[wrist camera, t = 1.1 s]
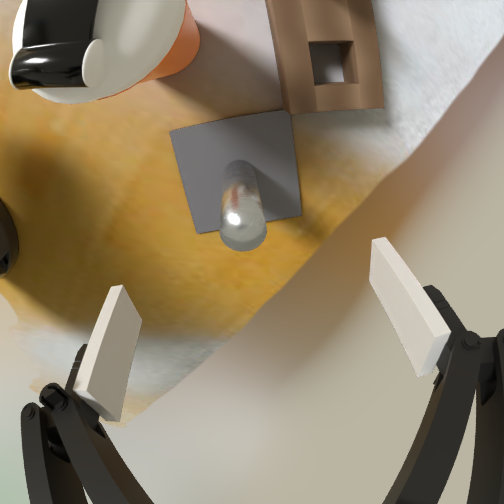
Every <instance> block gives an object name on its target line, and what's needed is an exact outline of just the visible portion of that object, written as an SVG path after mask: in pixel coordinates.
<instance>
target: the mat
mask: <svg viewBox="0 0 504 504" xmlns="http://www.w3.org/2000/svg"><path fill="white" fill-rule="evenodd" d="M170 136H171V140H172V144H173V148H174V152H175V156H176V160H177V164H178V168H179V171H180V175H181V179H182V183H183V186H184V190H185V194H186V197H187V201H188V204H189V208H190V211H191V215H192V219H193V222H194V225H195V229H196V232H197V234H198V233H204V232H209V231H215V230H220V218H221V204H222V191H223V178H224V170H225V168H226V166H227V165H228V164H229V163H231V162H232V161H235V160H244V161H247V162H249V163H250V164H251V165H252V166H253V168H254V171H255V175H256V180H257V185H258V189H259V194H260V199H261V204H262V208H263V213H264V218H265V222H267V221H273V220H279V219H285V218H291V217H297V216H302V213H301V203H300V193H299V183H298V174H297V165H296V156H295V148H294V140H293V132H292V124H291V117H290V114H289V113H288V112H287V111H285V110H277V111H270V112H263V113H256V114H250V115H244V116H238V117H233V118H227V119H222V120H217V121H212V122H207V123H202V124H198V125H193V126H189V127H185V128H180V129H176V130H172V131H170Z"/></svg>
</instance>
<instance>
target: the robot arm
mask: <svg viewBox="0 0 504 504" xmlns="http://www.w3.org/2000/svg"><path fill="white" fill-rule="evenodd" d="M18 250H19V245H18V237H17V233H16V229H15V226H14V223H13V221H12V219H11V217H10V215H9V213H8V211H7V209H6V208H5V206H4V205H3V203H2V202H1V201H0V278H2V277H4V276H5V275H6V274H7V273H8V272H9V271H10V269H11V268H12V267H13V265H14V264H15V262H16V260H17V257H18ZM369 281H370V283H371V285H372V287H373V289H374V291H375V293H376V295H377V296H378V298H379V300H380V302H381V304H382V306H383V308H384V310H385V311H386V313H387V315H388V317H389V319H390V321H391V323H392V325H393V327H394V329H395V331H396V333H397V335H398V337H399V339H400V341H401V343H402V345H403V347H404V349H405V351H406V354H407V356H408V358H409V360H410V362H411V364H412V366H413V369H414V371H415V373H416V375H417V377H421V376H424V375H426V374H429V373H432V372H433V370H434V368H435V366H436V365H437V367H438V369H439V371H440V372H439V374H438V375H437V377H436V379H435V381H434V383H433V384H435V386H434V389H433V392H432V395H431V398H430V401H429V404H428V406H427V409H426V412H425V415H424V417H423V420H422V423H421V425H420V428H419V430H418V433H417V435H416V437H415V440H414V442H413V444H412V447H411V449H410V451H409V453H408V455H407V458H406V460H405V462H404V464H403V466H402V468H401V470H400V472H399V474H398V476H397V478H396V480H395V482H394V484H393V486H392V487H391V489H390V491H389V493H388V495H387V496H386V498H385V500H384V502H383V503H382V504H437V503H438V501H439V498H440V496H441V494H442V492H443V490H444V487H445V485H446V483H447V480H448V478H449V475H450V473H451V470H452V468H453V465H454V462H455V460H456V457H457V454H458V451H459V448H460V445H461V442H462V439H463V436H464V433H465V429H466V426H467V422H468V419H469V415H470V411H471V407H472V403H473V399H474V394H475V390H476V433H475V434H476V435H475V448H474V459H473V468H472V476H471V482H470V489H469V494H468V500H467V504H504V329H502V330H500V331H499V333H498V335H497V336H496V337H487V338H480V336H479V335H477V334H476V333H474V332H472V331H467V330H466V329H465V327H464V325H463V324H462V322H461V321H460V319H459V318H458V316H457V315H456V313H455V312H454V310H453V309H452V308H451V307H450V305H449V303H448V302H447V301H446V300H445V298H444V296H443V295H442V293H441V292H440V291H439V290H438V289H436V288H435V287H434V286H432V285H429V286H425V287H422V286H421V285H420V283H419V282H418V281H417V279H416V278H415V276H414V275H413V274H412V272H411V271H410V269H409V268H408V267H407V265H406V264H405V262H404V261H403V260H402V258H401V257H400V256H399V254H398V253H397V252H396V250H395V249H394V248H393V246H392V245H391V244H390V243H389V241H388V240H387V239H386V237H383V238H378V239H373V240H372V250H371V265H370V278H369ZM141 324H142V319H141V317H140V315H139V313H138V312H137V310H136V308H135V306H134V304H133V303H132V301H131V299H130V297H129V295H128V293H127V291H126V290H125V288H124V286H123V285H118V286H112V287H111V288H110V291H109V293H108V295H107V298H106V300H105V302H104V305H103V307H102V310H101V312H100V315H99V317H98V320H97V322H96V325H95V327H94V330H93V332H92V335H91V338H90V340H89V343H88V344H83V346H82V347H81V348H80V350H79V351H78V353H77V355H76V358H75V362H74V363H73V366H72V369H71V372H70V375H69V378H68V381H67V384H66V387H65V390H64V389H63V388H62V387H61V386H60V385H59V384H57V383H50V384H48V385H46V386H45V387H44V388H43V389H42V391H41V393H40V396H39V400H40V403H42V404H43V405H44V406H45V407H42V408H40V407H39V406H38V405H37V404H36V403H33V402H32V403H28V404H27V405H26V406H25V407H24V408H23V410H22V412H21V434H22V435H21V436H22V449H23V459H24V468H25V475H26V482H27V488H28V494H29V499H30V504H88V502H87V499H86V496H85V493H84V489H85V490H86V492H87V494H88V496H89V497H90V499H91V501H92V503H93V504H154V503H153V502H152V500H151V499H150V498H149V497H148V495H147V494H146V492H145V491H144V490H143V488H142V487H141V486H140V484H139V483H138V482H137V480H136V479H135V477H134V476H133V474H132V473H131V471H130V470H129V468H128V467H127V465H126V464H125V462H124V461H123V459H122V458H121V456H120V455H119V453H118V451H117V450H116V448H115V446H114V445H113V443H112V442H111V440H110V438H109V437H108V435H107V433H106V431H105V429H104V428H103V426H102V424H101V423H100V422H99V421H98V420H99V416H101V417H102V418H103V419H105V420H106V421H115V422H120V417H121V412H122V407H123V402H124V397H125V392H126V387H127V382H128V378H129V373H130V369H131V364H132V360H133V356H134V352H135V348H136V344H137V340H138V336H139V332H140V328H141ZM83 487H84V489H83Z"/></svg>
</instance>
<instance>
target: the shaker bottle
mask: <svg viewBox="0 0 504 504" xmlns="http://www.w3.org/2000/svg"><path fill="white" fill-rule="evenodd" d="M12 41H13V53H14V56H13V58H12V61H11V63H10V68H9V78H10V82H11V84H12V86H13V87H14V88H15V89H18V90H25V89H32V90H33V91H34V92H36V93H37V94H39V95H40V96H42V97H43V98H45V99H48V100H51V101H53V102H57V103H65V104H77V103H86V102H90V101H93V100H100V99H104V98H107V97H111V96H115V95H117V94H119V93H121V92H124V91H126V90H128V89H130V88H132V87H133V86H135V85H136V84H139V83H142V82H146V81H149V80H153V79H157V78H160V77H164V76H168V75H172V74H175V73H177V72H179V71H181V70H183V69H184V68H185V67H186V66H188V65H189V64H190V63H191V61H192V60H193V59H194V57H195V56H196V54H197V52H198V49H199V45H200V34H199V31H198V28H197V25H196V23H195V20H194V18H193V16H192V13H191V11H190V9H189V6H188V4H187V0H23V2H22V4H21V6H20V8H19V10H18V13H17V16H16V20H15V23H14V29H13V37H12Z"/></svg>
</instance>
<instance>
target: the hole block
mask: <svg viewBox="0 0 504 504" xmlns="http://www.w3.org/2000/svg"><path fill="white" fill-rule="evenodd" d="M265 3H266V8H267V13H268V18H269V23H270V28H271V34H272V39H273V45H274V51H275V57H276V62H277V68H278V75H279V81H280V87H281V94H282V100H283V107H284V110H285V111H287V112H288V113H289V114H291V115H294V114H302V113H312V112H323V111H335V110H351V109H373V108H384V97H383V84H382V73H381V64H380V55H379V47H378V40H377V33H376V27H375V21H374V15H373V9H372V4H371V0H265ZM310 44H339V46H340V53H341V60H342V68H343V76H344V82H331V83H315V84H314V78H313V70H312V64H311V57H310V50H309V45H310Z"/></svg>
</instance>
